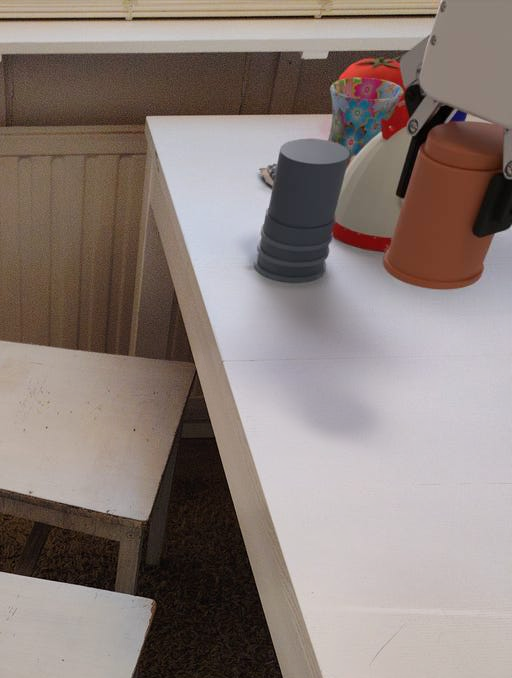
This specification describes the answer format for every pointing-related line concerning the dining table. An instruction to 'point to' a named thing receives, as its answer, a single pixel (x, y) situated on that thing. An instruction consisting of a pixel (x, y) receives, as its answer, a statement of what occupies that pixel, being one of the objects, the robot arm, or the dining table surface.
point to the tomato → (377, 74)
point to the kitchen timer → (374, 188)
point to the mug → (361, 110)
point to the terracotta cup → (446, 207)
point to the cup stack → (301, 210)
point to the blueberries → (269, 173)
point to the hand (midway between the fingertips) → (451, 210)
